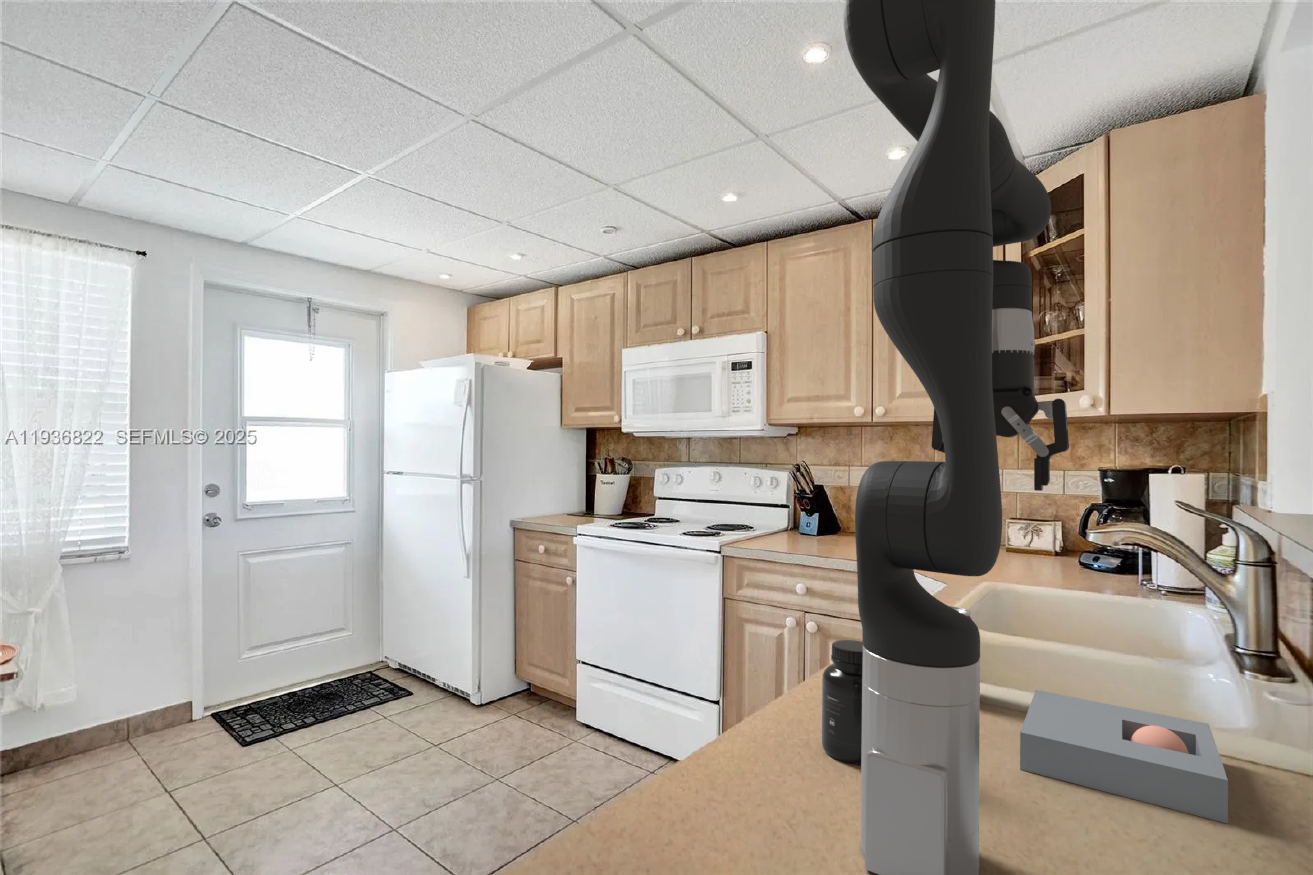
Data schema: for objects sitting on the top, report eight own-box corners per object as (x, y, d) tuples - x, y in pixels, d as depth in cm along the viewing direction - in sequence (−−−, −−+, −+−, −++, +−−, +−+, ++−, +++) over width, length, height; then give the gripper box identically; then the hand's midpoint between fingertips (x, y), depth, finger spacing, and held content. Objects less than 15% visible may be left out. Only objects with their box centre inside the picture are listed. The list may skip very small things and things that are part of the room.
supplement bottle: (809, 742, 76) (811, 639, 76) (858, 735, 78) (859, 635, 78) (845, 770, 69) (846, 657, 70) (897, 760, 72) (898, 651, 72)
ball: (1150, 724, 68) (1120, 758, 70) (1203, 761, 66) (1170, 795, 67) (1148, 709, 72) (1119, 741, 74) (1197, 743, 70) (1167, 776, 71)
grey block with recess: (1228, 823, 60) (1227, 780, 60) (1020, 769, 70) (1020, 732, 70) (1209, 759, 73) (1208, 723, 73) (1035, 721, 83) (1035, 689, 83)
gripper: (927, 352, 78) (926, 487, 78) (1066, 342, 70) (1066, 492, 70) (940, 360, 84) (940, 485, 84) (1070, 352, 76) (1070, 490, 76)
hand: (997, 488), depth 77 cm, fingers open, 8 cm apart
